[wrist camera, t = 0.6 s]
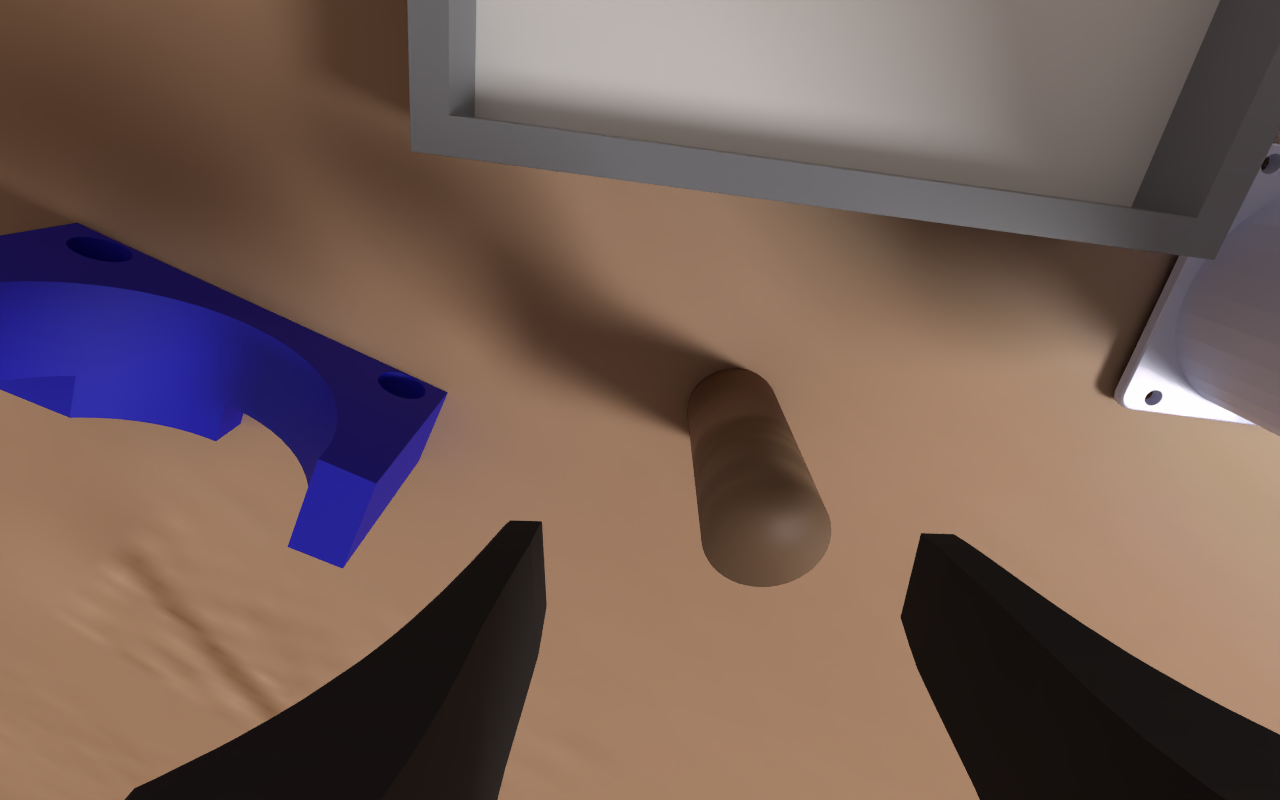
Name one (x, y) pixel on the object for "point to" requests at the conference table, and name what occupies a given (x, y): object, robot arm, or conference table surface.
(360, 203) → the conference table surface
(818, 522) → the peg
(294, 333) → the cable clip
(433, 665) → the robot arm
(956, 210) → the box
